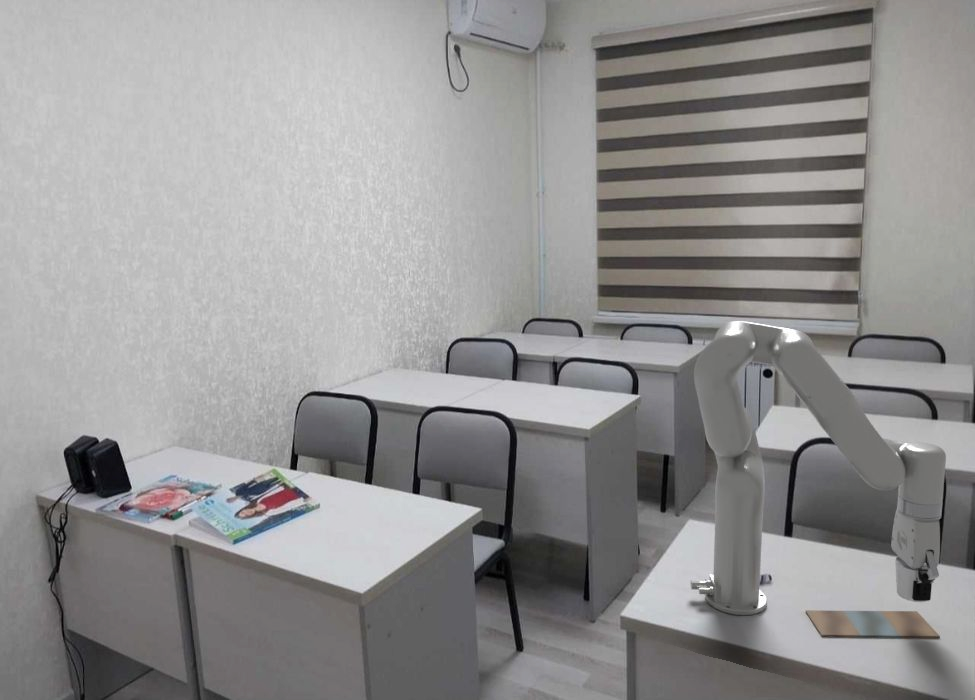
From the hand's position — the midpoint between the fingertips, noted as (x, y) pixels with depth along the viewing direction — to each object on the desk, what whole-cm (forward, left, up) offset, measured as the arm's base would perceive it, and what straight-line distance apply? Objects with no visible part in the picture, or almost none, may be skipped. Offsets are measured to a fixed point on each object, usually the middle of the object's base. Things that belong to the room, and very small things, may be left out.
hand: (912, 590), depth 150 cm
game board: (-8, 0, -8) cm, 11 cm away
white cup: (0, 0, -1) cm, 1 cm away
